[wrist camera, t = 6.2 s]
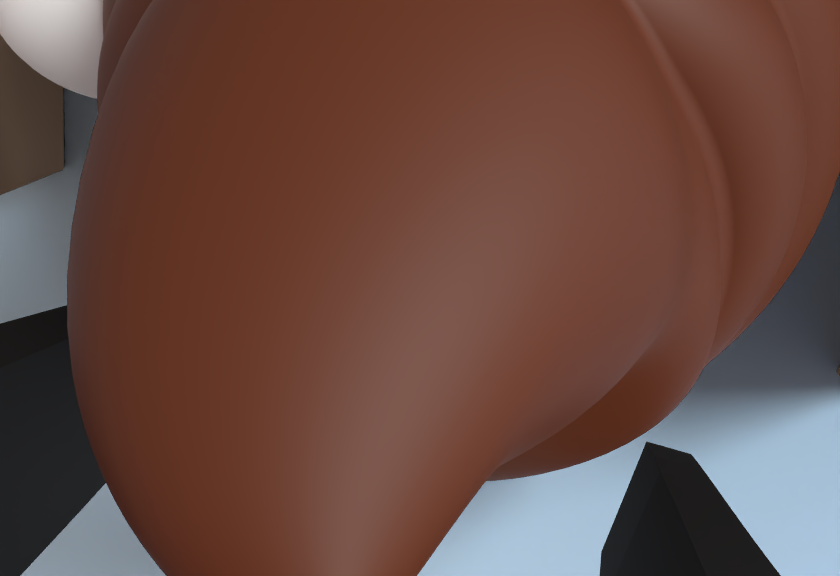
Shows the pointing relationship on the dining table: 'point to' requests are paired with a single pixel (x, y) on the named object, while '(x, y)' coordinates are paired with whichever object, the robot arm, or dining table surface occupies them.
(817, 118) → the poop emoji
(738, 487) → the dining table surface
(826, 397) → the dining table surface
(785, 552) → the dining table surface
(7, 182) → the brown u-shaped block
